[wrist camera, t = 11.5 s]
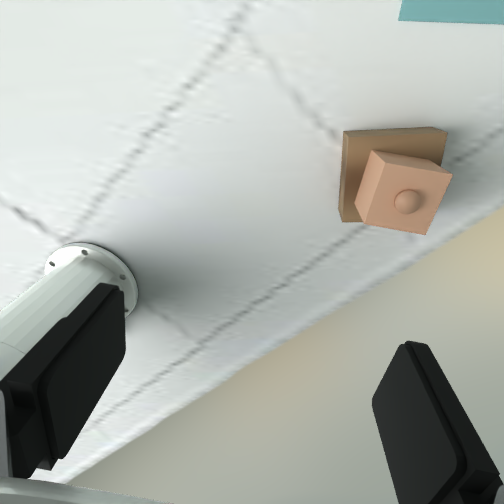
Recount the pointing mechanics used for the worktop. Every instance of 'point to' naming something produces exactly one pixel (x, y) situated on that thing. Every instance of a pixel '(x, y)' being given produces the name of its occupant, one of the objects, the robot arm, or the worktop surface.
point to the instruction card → (453, 11)
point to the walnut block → (386, 140)
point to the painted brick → (401, 192)
